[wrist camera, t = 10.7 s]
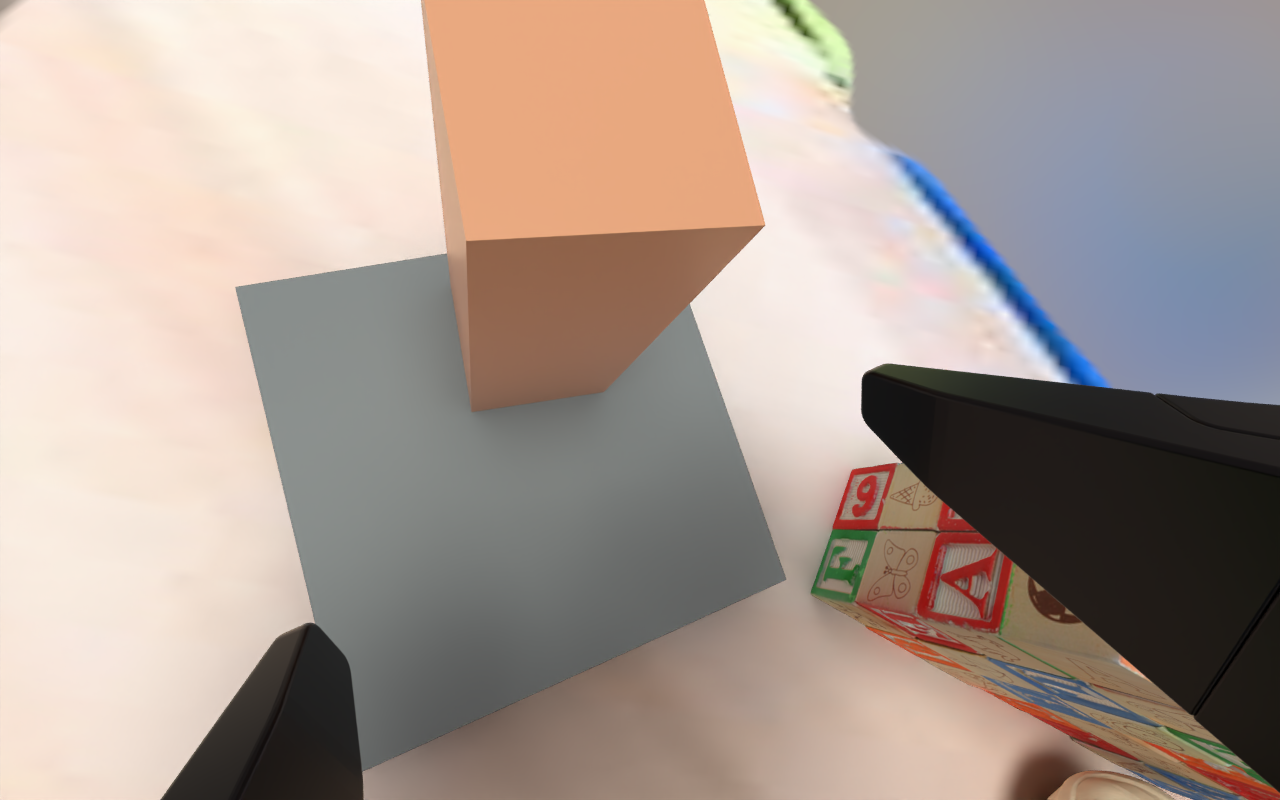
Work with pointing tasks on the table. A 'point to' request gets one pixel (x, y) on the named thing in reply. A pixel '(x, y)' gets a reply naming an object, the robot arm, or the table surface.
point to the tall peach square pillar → (579, 183)
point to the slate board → (489, 501)
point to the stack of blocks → (1009, 635)
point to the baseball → (1107, 788)
